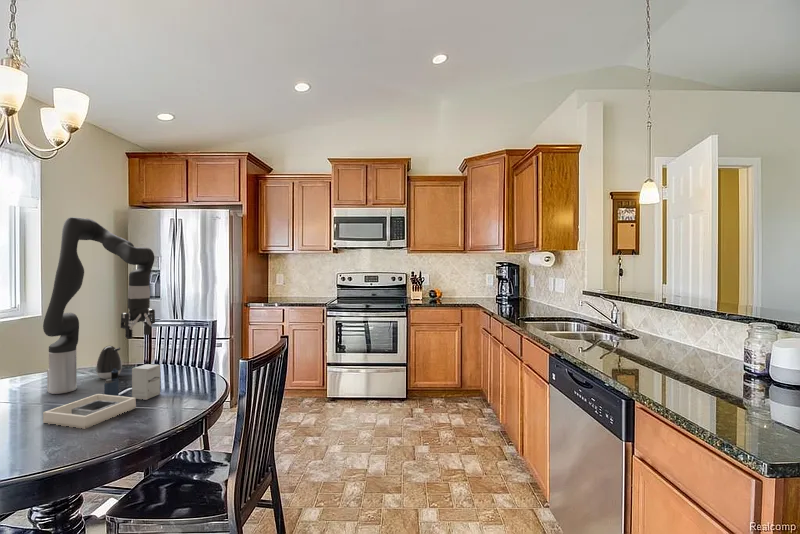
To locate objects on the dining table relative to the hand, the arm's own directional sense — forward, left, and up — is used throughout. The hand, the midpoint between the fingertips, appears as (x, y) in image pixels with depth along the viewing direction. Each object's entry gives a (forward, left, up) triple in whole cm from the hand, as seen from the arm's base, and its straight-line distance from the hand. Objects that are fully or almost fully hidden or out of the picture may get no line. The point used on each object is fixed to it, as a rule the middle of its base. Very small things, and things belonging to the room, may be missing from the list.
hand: (138, 336), depth 167 cm
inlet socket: (0, -18, -26) cm, 31 cm away
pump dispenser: (-39, +22, -26) cm, 51 cm away
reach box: (-2, -18, -26) cm, 31 cm away
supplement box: (0, +4, -26) cm, 26 cm away
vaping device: (-11, -2, -26) cm, 28 cm away
